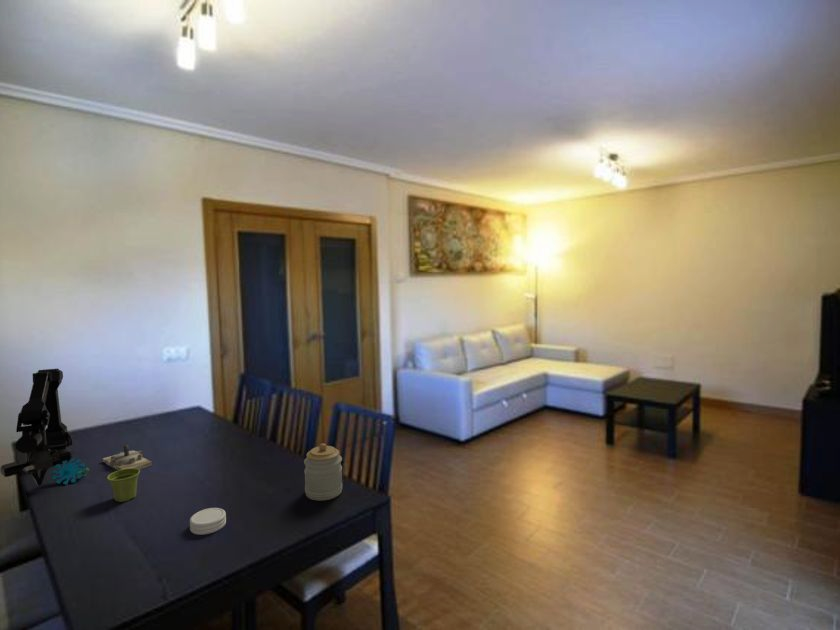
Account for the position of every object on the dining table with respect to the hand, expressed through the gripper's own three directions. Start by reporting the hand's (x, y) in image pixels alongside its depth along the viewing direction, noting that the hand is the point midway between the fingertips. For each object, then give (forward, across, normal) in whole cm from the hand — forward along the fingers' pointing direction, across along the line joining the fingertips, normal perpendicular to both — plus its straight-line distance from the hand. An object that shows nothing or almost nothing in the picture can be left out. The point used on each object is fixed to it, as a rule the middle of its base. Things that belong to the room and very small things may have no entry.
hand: (39, 485), depth 161 cm
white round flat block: (+2, +22, -71) cm, 75 cm away
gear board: (+2, +28, 0) cm, 28 cm away
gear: (+2, +10, 0) cm, 10 cm away
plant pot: (+2, +15, -31) cm, 35 cm away
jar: (+2, +58, -84) cm, 102 cm away
